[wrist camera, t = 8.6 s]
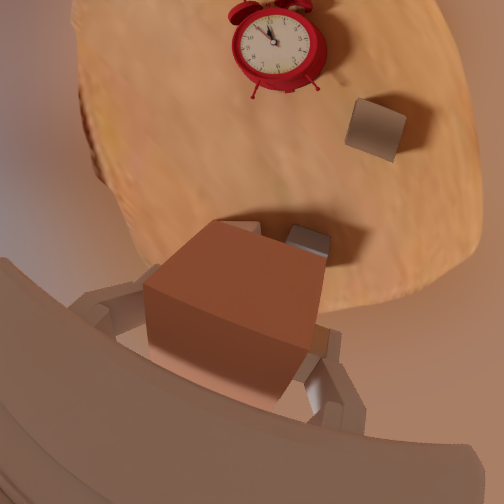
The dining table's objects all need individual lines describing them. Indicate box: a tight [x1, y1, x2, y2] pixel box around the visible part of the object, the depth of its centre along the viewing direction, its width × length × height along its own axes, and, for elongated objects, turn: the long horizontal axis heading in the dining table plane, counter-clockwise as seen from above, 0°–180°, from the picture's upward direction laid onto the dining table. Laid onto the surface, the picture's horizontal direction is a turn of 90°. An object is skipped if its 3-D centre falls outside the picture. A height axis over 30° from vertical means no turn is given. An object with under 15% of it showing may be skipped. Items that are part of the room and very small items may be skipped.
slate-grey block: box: [285, 224, 331, 258], centre depth 33 cm, size 5×5×5 cm
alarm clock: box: [228, 0, 327, 99], centre depth 22 cm, size 10×6×15 cm
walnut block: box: [345, 98, 407, 163], centre depth 24 cm, size 5×5×5 cm
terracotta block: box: [143, 220, 327, 412], centre depth 10 cm, size 5×5×5 cm
